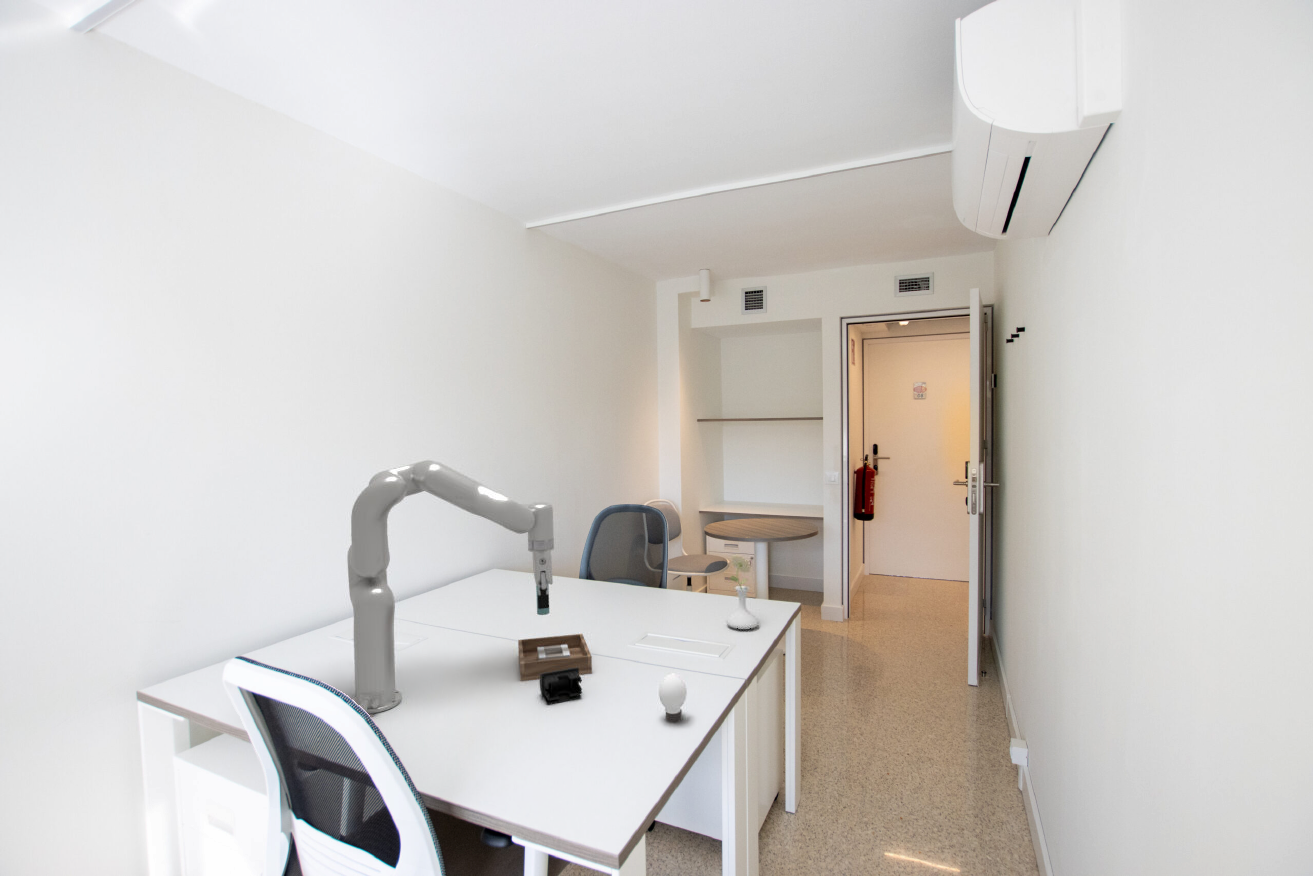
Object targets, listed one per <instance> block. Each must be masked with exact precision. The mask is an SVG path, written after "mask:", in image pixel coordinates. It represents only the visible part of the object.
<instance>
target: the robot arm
mask: <svg viewBox="0 0 1313 876" xmlns="http://www.w3.org/2000/svg"><path fill="white" fill-rule="evenodd" d="M422 492H427V493H428V494H430V495H433V496H435V497H437V498H439V499H441V500H443V501H444V502H446V503H449V504H451V505H454V506H455V507H457V508H459V509H461V510H463V511H466V512H468V513H470V514H472V515H476V516H478V517H482V518H484V519H486V520H489V521H490V522H493V523H495V524H497V525H499V526H501V527H503V528H504V529H507V530H509V531H512V532H513V533H515V534H518V535H521V534H527V548H528V550H527V551H529V552H530V553H532V568H533V577H534V581H535V586H536V585H537V586H538V609H545V608H549V609H550V593H549V594H548V583H549V585H553V583H554V582H553V581H554V580H553V563H552V562H553V561H552V552H551V551H554V550H555V540H554V539H555V538H554V536H555V535H554V509H553V505H552V503H549V502H545V501H544V502H541V501H540V502H532V503H530V504H529V503H528V504H526V503H525V504H524V503H523V504H521V503H518V502H516V501H514V500H512V499H510V498H509V497H506V496H504V495H503V494H500V493H499V492H497V491H494V490H493V489H491V488H490V487H488V486H486V484H485V485H484V484H483V483H481V482H478V481H477V480H475V479H472V478H471V477H469V476H467V475H465V474H463V473H461V472H459V471H457V470H455V469H453V468H451V467H449V466H447V465H445V464H444V463H441V462H440V461H439V462H438V461H434V460H428V459H427V460H422V461H418V462H415V463H410V464H407V465H403V466H399V467H394V468H391V469H387V470H382V471H380V472H376V473H375V474H374V475H373V476H372V477H371V479H370V480H369V482H368V485H367V486H366V487H365V488H364V489H363V490H362V491H361V492H360V494H359V495H358V496H357V498H356V499H355V501H354V504H353V505H352V509H351V515H350V516H351V517H350V520H351V521H350V524H351V525H350V526H351V527H350V530H351V532H350V533H351V534H350V537H351V539H350V540H351V544H350V546H349V548H348V551H347V557H346V558H347V573H348V574H347V575H348V589H349V597H350V602H351V604H352V605H351V606H352V608H353V609H352V610H353V655H354V656H353V657H354V658H353V659H354V660H353V661H354V693H355V694H354V697H353V698H352V699H353V700H354V701H355V702H356V703H357V704H358V705H360V706H361V707H362V708H363V709H364V710H365V711H366V712H367V713H368V715H369V714H376V713H382V712H385V711H387V710H390V709H393V708H394V707H396V706H397V705H399V704H400V703H401V701H402V699H403V694H402V692H400V691H399V690H398V689H396V666H395V662H396V661H395V658H396V656H395V654H396V653H395V613H396V611H395V609H396V606H395V605H396V603H395V602H396V601H395V596H394V593H393V590H391V587H390V586H389V584H388V574H387V572H388V571H387V569H388V567H389V564H390V560H391V558H390V556H391V555H390V550H389V549H390V548H389V539H388V538H389V537H388V518H389V513H390V512H391V510H392V509H393V508H394V507H395V506H396V505H398V504H400V503H401V502H402V501H404V499H405V498H406V497H409V496H413V495H416V494H419V493H422ZM539 580H540V583H541V584H539ZM540 587H541V588H540Z"/></svg>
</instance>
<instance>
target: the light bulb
mask: <svg viewBox="0 0 1313 876" xmlns="http://www.w3.org/2000/svg"><path fill="white" fill-rule="evenodd" d="M658 696H659V700H660V702H661V703H660V704H661V705H662V706H663V707H664V711H665V720H666V721H667V722H669V723H679V722H681V721H682V718H683V715H682V714H683V713H682V712H683V711H682V710H683V709H682V708H681V707H683V705H684V704H685V701H686V699H687V686H686V682H685V681H684V679H683V678H682V677H681V676H680V675H679V674H677V673H672V672H671V673H668V674H666V675H665V676H664V677H663V678H662V679H661V681H660V683H659V686H658Z"/></svg>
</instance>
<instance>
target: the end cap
mask: <svg viewBox="0 0 1313 876" xmlns="http://www.w3.org/2000/svg"><path fill="white" fill-rule="evenodd" d="M582 680H583V679H582V677H581V675H579V668H577V667H576V668H570V669H564V670H558V671H552V672H546V673H541V675H540V679H539V690H540V695H541V696H542V698H543V699H544V702H545V703H546V705H547V706H551V705H556V704H563V703H567V702H572V701H578V700H582V695H581V694H582V690H583V688H582V687H581V685H580V684H581V683H582Z"/></svg>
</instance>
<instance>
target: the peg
mask: <svg viewBox="0 0 1313 876" xmlns="http://www.w3.org/2000/svg"><path fill="white" fill-rule="evenodd" d="M539 584H541V583H540V580H539ZM549 585H550V584H549V583H548V594H549V595H550V593H549V591H550V590H549V588H550V587H549ZM535 588H536V589H535V590H536V614H537V615H538V616H545V615H548V614H550V607H549V608H545V609H538V586H537V585H536V584H535ZM540 588H541V587H540Z"/></svg>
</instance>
